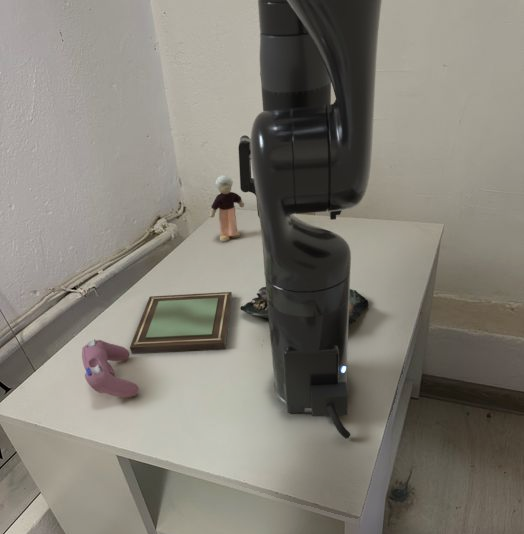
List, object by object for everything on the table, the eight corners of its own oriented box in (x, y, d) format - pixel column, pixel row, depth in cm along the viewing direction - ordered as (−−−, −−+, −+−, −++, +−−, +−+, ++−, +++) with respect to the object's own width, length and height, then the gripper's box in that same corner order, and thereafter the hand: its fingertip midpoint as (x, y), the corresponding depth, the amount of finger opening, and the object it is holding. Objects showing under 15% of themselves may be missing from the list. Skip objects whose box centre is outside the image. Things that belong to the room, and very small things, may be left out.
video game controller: (107, 369, 72) (72, 342, 67) (131, 351, 71) (97, 322, 67) (116, 413, 64) (76, 386, 60) (143, 393, 64) (105, 364, 59)
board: (225, 349, 71) (223, 341, 70) (131, 353, 72) (129, 346, 71) (232, 297, 82) (231, 290, 81) (151, 302, 83) (149, 295, 82)
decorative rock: (226, 305, 72) (264, 253, 82) (234, 336, 76) (269, 283, 86) (350, 319, 65) (375, 259, 75) (352, 352, 69) (376, 292, 79)
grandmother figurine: (222, 245, 97) (213, 183, 90) (211, 240, 100) (201, 179, 92) (251, 232, 101) (245, 171, 93) (239, 227, 104) (232, 167, 96)
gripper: (226, 93, 50) (243, 235, 60) (367, 83, 48) (358, 229, 59) (233, 75, 55) (247, 208, 66) (359, 65, 54) (352, 202, 65)
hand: (299, 218), depth 63 cm, fingers open, 8 cm apart
